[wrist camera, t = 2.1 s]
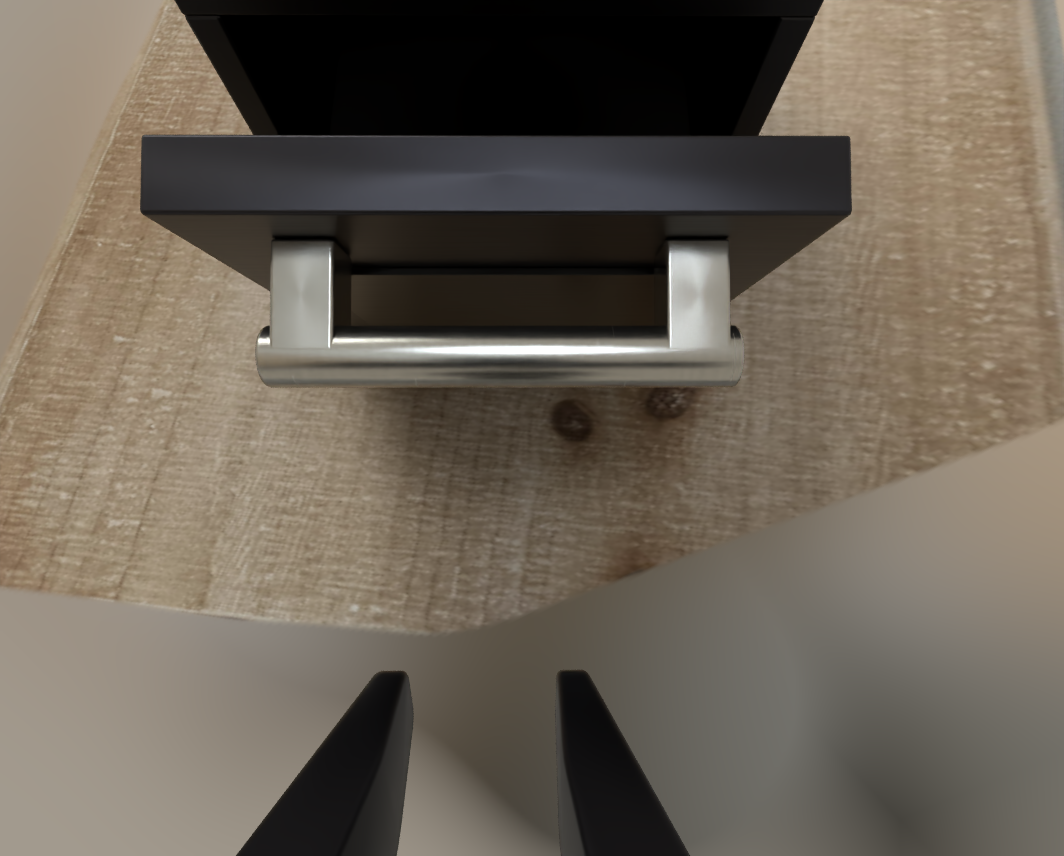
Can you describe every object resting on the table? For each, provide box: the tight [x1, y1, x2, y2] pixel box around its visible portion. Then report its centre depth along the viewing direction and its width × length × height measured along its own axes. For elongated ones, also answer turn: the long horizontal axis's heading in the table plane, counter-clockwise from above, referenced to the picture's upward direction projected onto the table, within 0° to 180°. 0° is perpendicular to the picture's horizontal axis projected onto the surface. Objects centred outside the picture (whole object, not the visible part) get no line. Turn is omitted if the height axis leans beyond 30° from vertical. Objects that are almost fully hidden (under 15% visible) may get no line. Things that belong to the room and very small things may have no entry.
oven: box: [175, 0, 824, 136], centre depth 21 cm, size 15×14×13 cm
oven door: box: [140, 135, 852, 388], centre depth 18 cm, size 5×14×13 cm, turn 90°
